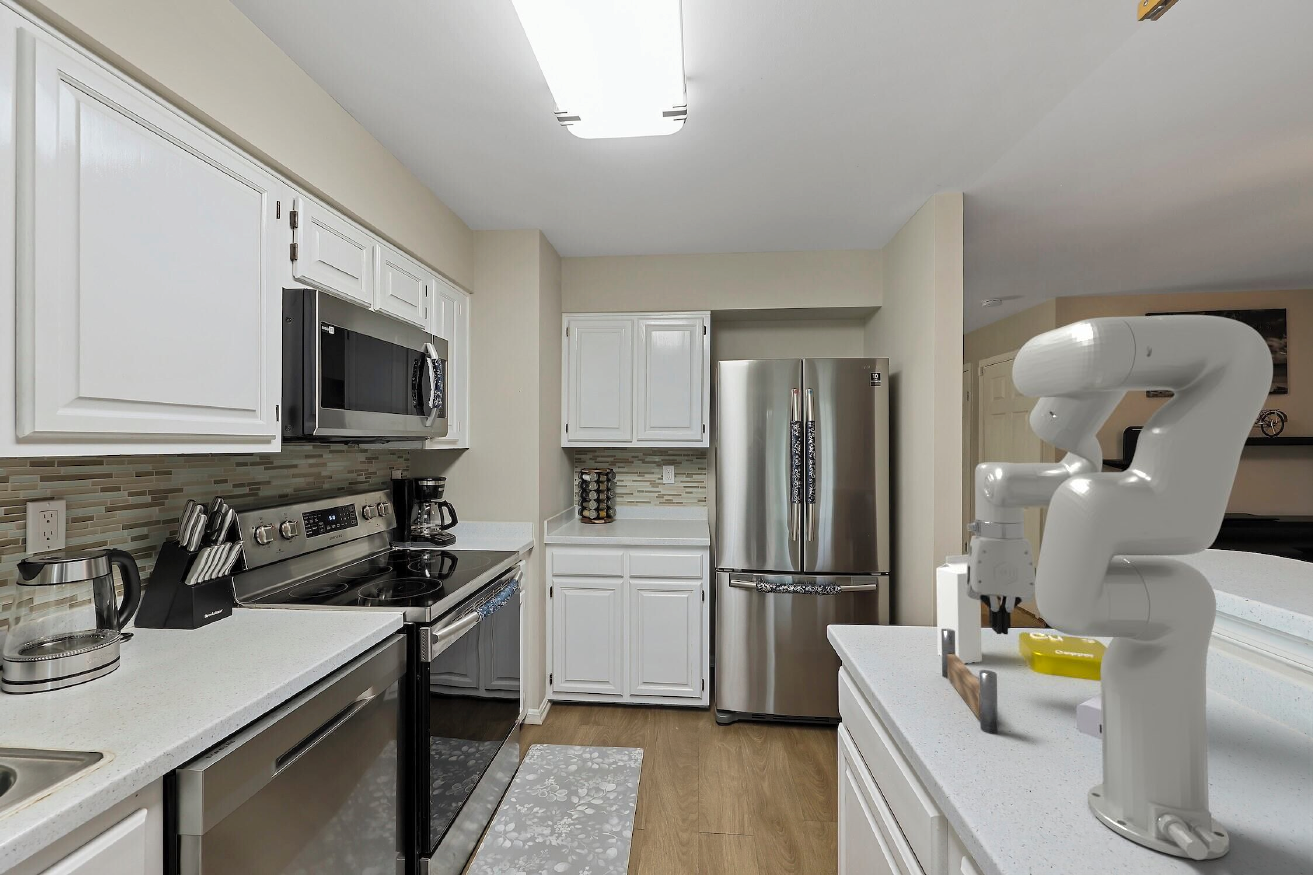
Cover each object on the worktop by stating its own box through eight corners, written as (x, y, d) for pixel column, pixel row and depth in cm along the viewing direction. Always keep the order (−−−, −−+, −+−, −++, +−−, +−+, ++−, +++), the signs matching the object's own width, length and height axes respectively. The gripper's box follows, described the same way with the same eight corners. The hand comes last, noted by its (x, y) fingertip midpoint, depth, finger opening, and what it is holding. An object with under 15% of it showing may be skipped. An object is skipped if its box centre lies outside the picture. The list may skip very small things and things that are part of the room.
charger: (1186, 731, 90) (1150, 758, 82) (1116, 709, 98) (1076, 732, 90) (1186, 701, 90) (1149, 725, 82) (1115, 681, 98) (1076, 701, 90)
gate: (990, 721, 92) (989, 693, 92) (979, 720, 93) (978, 692, 93) (956, 678, 110) (955, 654, 110) (947, 677, 110) (947, 653, 110)
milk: (981, 662, 120) (981, 557, 120) (958, 665, 118) (957, 558, 118) (959, 652, 125) (958, 552, 126) (936, 654, 124) (935, 553, 124)
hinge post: (1000, 734, 89) (999, 676, 89) (983, 732, 90) (982, 675, 90) (994, 726, 91) (993, 670, 92) (978, 725, 92) (977, 669, 92)
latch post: (957, 679, 111) (956, 632, 111) (944, 678, 111) (943, 631, 111) (953, 674, 113) (952, 628, 113) (940, 673, 113) (939, 628, 114)
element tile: (1033, 674, 114) (1032, 650, 114) (1017, 650, 128) (1016, 628, 128) (1126, 685, 108) (1125, 660, 108) (1098, 659, 122) (1098, 636, 122)
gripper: (960, 532, 101) (961, 636, 101) (1055, 535, 97) (1056, 642, 97) (948, 526, 108) (948, 622, 108) (1036, 528, 105) (1036, 627, 105)
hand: (999, 631), depth 103 cm, fingers closed
